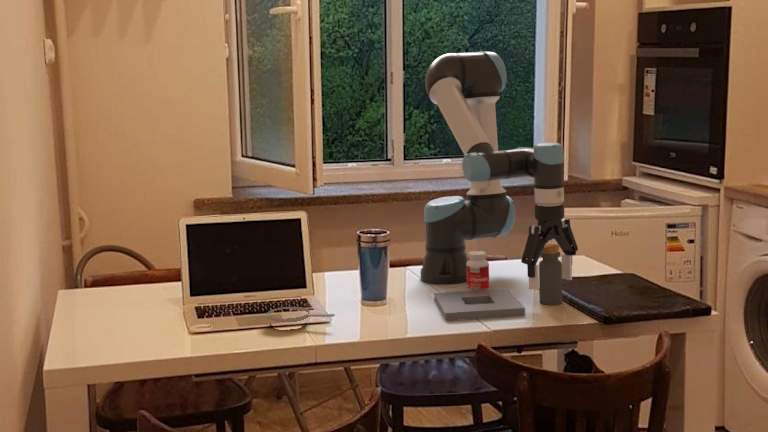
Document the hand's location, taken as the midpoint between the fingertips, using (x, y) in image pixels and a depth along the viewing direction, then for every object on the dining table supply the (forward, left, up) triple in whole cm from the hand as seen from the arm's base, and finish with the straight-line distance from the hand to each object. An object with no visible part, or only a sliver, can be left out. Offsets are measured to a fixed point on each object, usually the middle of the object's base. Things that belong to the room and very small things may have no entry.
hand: (550, 284), depth 258 cm
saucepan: (-34, -56, -5) cm, 65 cm away
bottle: (0, 0, -5) cm, 5 cm away
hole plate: (-11, -16, -5) cm, 20 cm away
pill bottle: (-22, -4, -5) cm, 23 cm away
